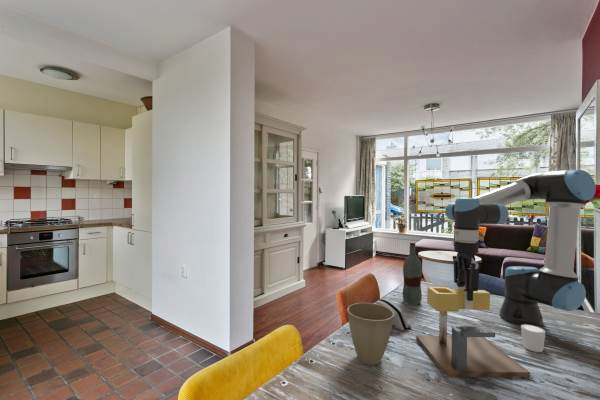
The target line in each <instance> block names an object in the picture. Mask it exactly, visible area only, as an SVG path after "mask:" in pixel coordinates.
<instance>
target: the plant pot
mask: <svg viewBox="0 0 600 400" xmlns="http://www.w3.org/2000/svg"><path fill="white" fill-rule="evenodd" d="M347 318H348V325H349V330H350V336H351V340H352V342H353V343H352V344H353V347H354V350H355V354H356V356H357V359H358V360H359V362H361V363H362V364H365V365H368V366H376V365H379V364H380V363H381V361H382V359H383V357H384V355H385V352H386V349H387V346H388V343H389V340H390V336H391V333H392V329H393V318H394V313H393V311H392V310H391V309H389V308H387V307H385V306H382V305H378V304H376V303H372V302H357V303H353V304H350V305H348V307H347Z"/></svg>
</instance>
